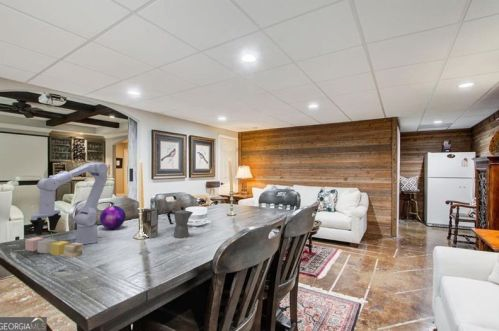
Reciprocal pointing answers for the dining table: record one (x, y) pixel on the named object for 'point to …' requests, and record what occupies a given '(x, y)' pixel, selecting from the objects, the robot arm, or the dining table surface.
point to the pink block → (32, 243)
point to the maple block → (73, 250)
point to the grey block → (45, 245)
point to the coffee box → (150, 222)
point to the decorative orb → (112, 217)
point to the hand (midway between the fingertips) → (45, 232)
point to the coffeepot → (180, 222)
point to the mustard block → (58, 248)
